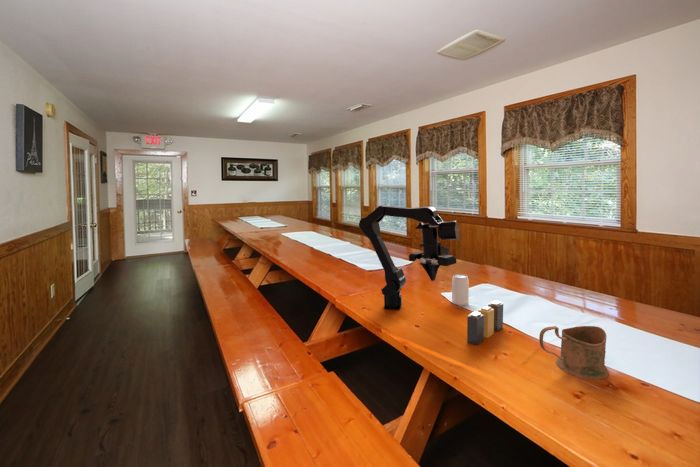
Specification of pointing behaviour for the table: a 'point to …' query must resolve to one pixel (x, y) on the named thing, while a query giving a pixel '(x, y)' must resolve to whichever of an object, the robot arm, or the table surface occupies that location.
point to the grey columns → (477, 323)
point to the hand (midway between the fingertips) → (433, 280)
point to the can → (460, 289)
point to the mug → (581, 351)
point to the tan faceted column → (488, 320)
